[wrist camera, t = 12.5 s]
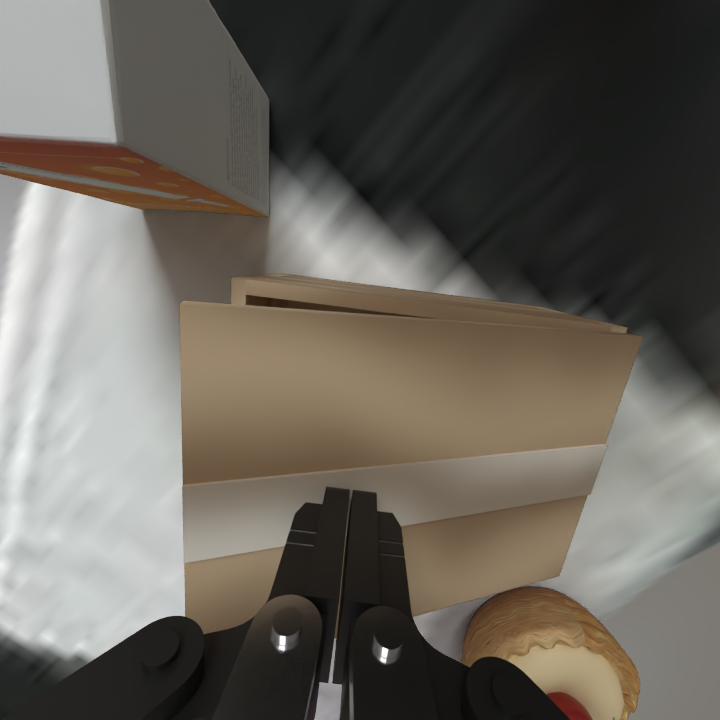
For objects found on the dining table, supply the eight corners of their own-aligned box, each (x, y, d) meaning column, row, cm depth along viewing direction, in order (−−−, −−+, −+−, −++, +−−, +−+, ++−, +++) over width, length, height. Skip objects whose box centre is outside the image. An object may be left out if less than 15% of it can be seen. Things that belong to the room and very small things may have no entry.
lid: (183, 300, 8) (179, 305, 7) (626, 333, 14) (645, 337, 13) (188, 658, 11) (186, 683, 10) (548, 565, 17) (561, 577, 16)
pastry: (430, 649, 30) (447, 802, 22) (495, 551, 27) (546, 685, 18) (554, 696, 30) (619, 865, 22) (633, 605, 27) (746, 762, 19)
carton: (282, 273, 21) (231, 277, 14) (535, 305, 21) (627, 327, 14) (271, 449, 25) (225, 531, 17) (491, 477, 25) (545, 572, 17)
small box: (141, 211, 21) (-212, 126, 8) (129, 89, 19) (-336, -251, 7) (273, 220, 21) (118, 147, 8) (273, 98, 19) (78, -233, 6)
